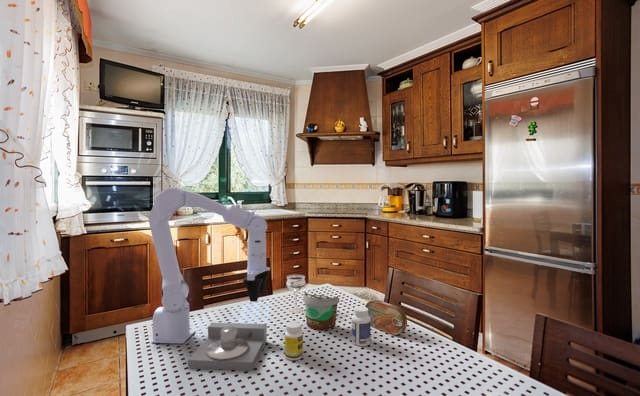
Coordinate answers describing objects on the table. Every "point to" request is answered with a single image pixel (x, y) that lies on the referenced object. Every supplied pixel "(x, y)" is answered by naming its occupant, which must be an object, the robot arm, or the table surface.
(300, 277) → the wineglass
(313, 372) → the table surface
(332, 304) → the food container
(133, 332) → the table surface
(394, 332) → the tin
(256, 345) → the scale
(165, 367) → the table surface
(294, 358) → the supplement bottle
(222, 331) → the cylinder
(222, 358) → the pan
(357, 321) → the pill bottle
